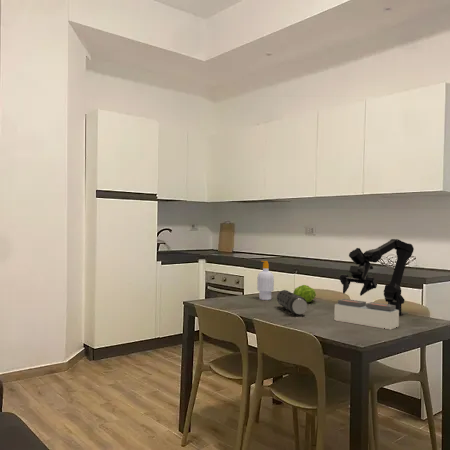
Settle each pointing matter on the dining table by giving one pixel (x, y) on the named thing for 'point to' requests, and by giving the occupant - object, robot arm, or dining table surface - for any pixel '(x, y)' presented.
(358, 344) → the dining table surface
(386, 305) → the key
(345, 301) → the key
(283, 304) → the grey foam roller
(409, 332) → the dining table surface
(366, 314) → the switch block
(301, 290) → the lettuce
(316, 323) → the dining table surface
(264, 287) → the soap bottle
